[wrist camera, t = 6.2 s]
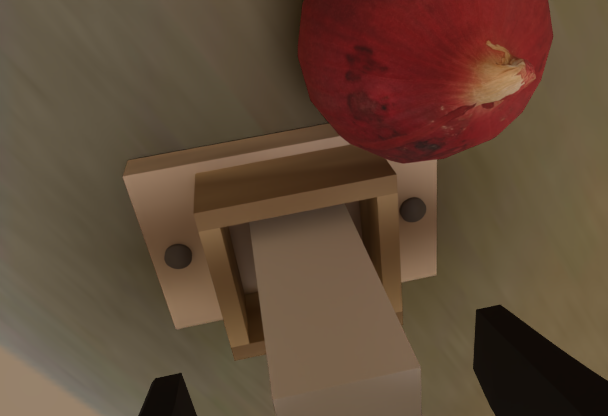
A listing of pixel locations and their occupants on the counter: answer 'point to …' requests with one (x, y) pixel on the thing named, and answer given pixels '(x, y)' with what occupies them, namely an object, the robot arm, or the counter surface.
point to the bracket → (272, 203)
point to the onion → (422, 70)
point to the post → (329, 321)
